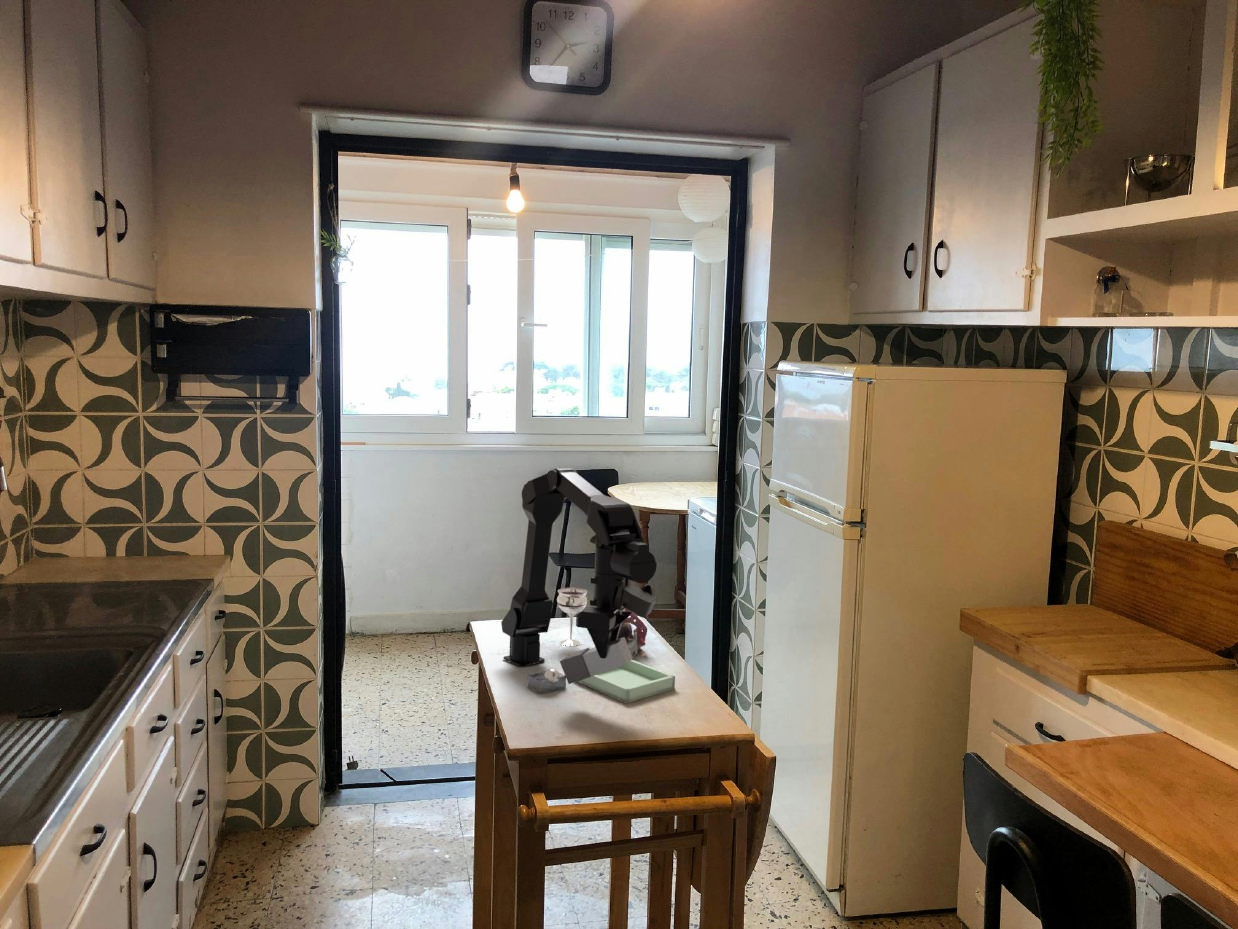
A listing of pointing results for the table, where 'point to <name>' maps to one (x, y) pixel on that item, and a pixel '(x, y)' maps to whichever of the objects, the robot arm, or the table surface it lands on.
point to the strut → (595, 661)
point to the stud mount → (546, 681)
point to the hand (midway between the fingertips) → (606, 654)
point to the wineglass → (571, 607)
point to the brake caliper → (633, 634)
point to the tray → (631, 682)
